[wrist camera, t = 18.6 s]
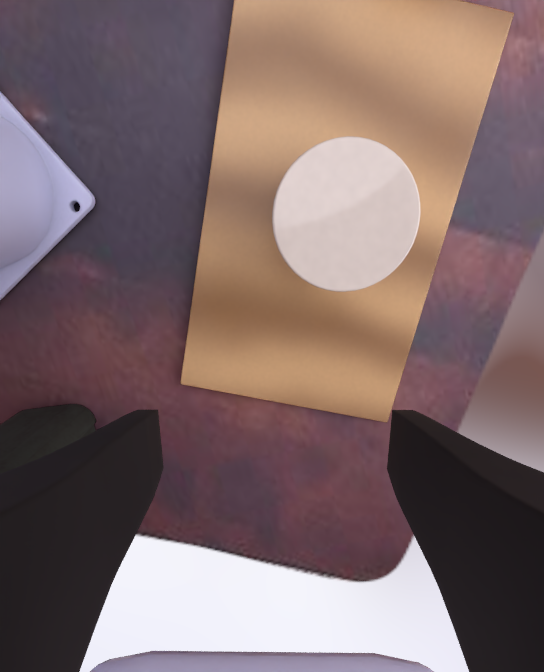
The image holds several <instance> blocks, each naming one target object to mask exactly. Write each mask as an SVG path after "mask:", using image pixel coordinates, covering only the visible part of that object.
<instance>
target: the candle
mask: <svg viewBox="0 0 544 672" xmlns="http://www.w3.org/2000/svg"><path fill="white" fill-rule="evenodd" d="M95 422H96V419H95V417H94V415H93V414H92V412H91V411H90V410H88V409H87V408H86V407H84V406H82V405H78V404H68V405H60V406H52V407H44V408H36V409H28V410H23V411H21V412H19V413H17V414H16V415H14V416H13V417H11V418H10V419H8V420H7V421H5V422H4V423H2V424H1V425H0V474H1V473H3V472H6V471H9V470H11V469H14V468H16V467H19V466H22V465H24V464H27V463H29V462H32V461H34V460H36V459H39V458H41V457H43V456H46V455H48V454H50V453H52V452H54V451H56V450H58V449H60V448H62V447H64V446H67V445H69V444H71V443H73V442H75V441H77V440H79V439H81V438H83V437H85V436H87V435H89V434H91V433H92V432H94V431H96V430H95V426H94V423H95Z"/></svg>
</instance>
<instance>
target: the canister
mask: <svg viewBox="0 0 544 672" xmlns="http://www.w3.org/2000/svg"><path fill="white" fill-rule="evenodd" d="M419 222H420V198H419V192H418V188H417V185H416V182H415V180H414V177H413V175H412V173H411V172H410V170H409V168H408V167H407V165H406V164H405V163H404V161H403V160H402V159H401V158H400V157H399V156H398V155H397V154H396V153H395V152H394V151H392V150H391V149H389V148H388V147H387V146H385V145H383V144H381V143H379V142H377V141H374V140H371V139H368V138H363V137H357V136H345V137H337V138H333V139H329V140H326V141H323V142H321V143H319V144H317V145H315V146H313V147H312V148H310V149H308V150H307V151H306V152H304V153H303V154H302V155H300V156H299V157H298V158H297V159H296V160H295V161H294V162H293V163H292V165H291V166H290V167H289V169H288V170H287V171H286V173H285V175H284V176H283V178H282V180H281V182H280V184H279V187H278V189H277V191H276V195H275V199H274V203H273V210H272V225H273V233H274V237H275V241H276V244H277V247H278V250H279V252H280V253H281V255H282V257H283V259H284V260H285V262H286V263H287V265H288V266H289V267H290V268H291V269H292V270H293V272H294V273H295V274H297V275H298V276H299V277H300V278H302V279H303V280H305V281H306V282H308V283H309V284H311V285H314V286H316V287H318V288H321V289H325V290H329V291H335V292H348V291H356V290H360V289H364V288H367V287H369V286H372V285H374V284H376V283H378V282H380V281H381V280H383V279H384V278H386V277H387V276H389V275H390V274H391V273H392V272H393V271H394V270H395V269H396V268H397V267H398V266H399V265H400V264H401V263H402V262H403V260H404V259H405V257H406V256H407V255H408V253H409V251H410V249H411V247H412V245H413V243H414V241H415V238H416V235H417V232H418V228H419Z"/></svg>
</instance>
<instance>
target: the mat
mask: <svg viewBox="0 0 544 672" xmlns="http://www.w3.org/2000/svg"><path fill="white" fill-rule="evenodd" d="M513 16H514V13H512V12H508V11H503V10H499V9H495V8H491V7H486V6H482V5H478V4H474V3H469V2H465V1H461V0H234V5H233V12H232V19H231V26H230V33H229V40H228V47H227V55H226V62H225V69H224V76H223V83H222V90H221V97H220V104H219V112H218V119H217V126H216V133H215V140H214V147H213V154H212V161H211V169H210V176H209V183H208V190H207V197H206V204H205V211H204V218H203V225H202V233H201V240H200V247H199V254H198V261H197V268H196V275H195V282H194V290H193V297H192V304H191V311H190V318H189V325H188V332H187V339H186V347H185V354H184V361H183V368H182V375H181V382H180V383H181V384H183V385H188V386H194V387H199V388H204V389H210V390H215V391H220V392H226V393H231V394H236V395H242V396H247V397H253V398H258V399H263V400H269V401H274V402H279V403H285V404H290V405H295V406H301V407H306V408H312V409H317V410H322V411H328V412H333V413H338V414H344V415H349V416H355V417H360V418H365V419H371V420H376V421H381V422H387V421H388V418H389V415H390V412H391V409H392V405H393V402H394V399H395V396H396V392H397V389H398V386H399V383H400V380H401V376H402V373H403V370H404V367H405V363H406V360H407V357H408V354H409V351H410V347H411V344H412V341H413V338H414V335H415V331H416V328H417V325H418V322H419V318H420V315H421V312H422V309H423V306H424V302H425V299H426V296H427V293H428V289H429V286H430V283H431V280H432V277H433V273H434V270H435V267H436V264H437V260H438V257H439V254H440V251H441V248H442V244H443V241H444V238H445V235H446V231H447V228H448V225H449V222H450V219H451V215H452V212H453V209H454V206H455V202H456V199H457V196H458V193H459V190H460V186H461V183H462V180H463V177H464V173H465V170H466V167H467V164H468V161H469V157H470V154H471V151H472V148H473V144H474V141H475V138H476V135H477V132H478V128H479V125H480V122H481V119H482V116H483V112H484V109H485V106H486V103H487V99H488V96H489V93H490V90H491V87H492V83H493V80H494V77H495V74H496V70H497V67H498V64H499V61H500V58H501V54H502V51H503V48H504V45H505V41H506V38H507V35H508V32H509V29H510V25H511V22H512V19H513ZM345 136H357V137H363V138H368V139H371V140H374V141H377V142H379V143H381V144H383V145H385V146H387V147H388V148H389V149H391V150H392V151H394V152H395V153H396V154H397V155H398V156H399V157H400V158H401V159H402V160H403V161H404V163H405V164H406V165H407V167H408V168H409V170H410V172H411V173H412V175H413V177H414V180H415V182H416V185H417V188H418V192H419V198H420V222H419V228H418V232H417V235H416V238H415V241H414V243H413V245H412V247H411V249H410V251H409V253H408V255H407V256H406V257H405V259H404V260H403V262H402V263H401V264H400V265H399V266H398V267H397V268H396V269H395V270H394V271H393V272H392V273H391V274H390V275H389V276H387V277H386V278H384V279H383V280H381V281H380V282H378V283H376V284H374V285H372V286H369V287H367V288H364V289H360V290H356V291H348V292H335V291H329V290H325V289H321V288H318V287H316V286H314V285H311V284H309V283H308V282H306V281H305V280H303V279H302V278H300V277H299V276H298V275H297V274H295V273H294V272H293V270H292V269H291V268H290V267H289V266H288V265H287V263H286V262H285V260H284V259H283V257H282V255H281V253H280V252H279V250H278V247H277V244H276V241H275V237H274V233H273V225H272V210H273V203H274V199H275V195H276V191H277V189H278V187H279V184H280V182H281V180H282V178H283V176H284V175H285V173H286V171H287V170H288V169H289V167H290V166H291V165H292V163H293V162H294V161H295V160H296V159H297V158H298V157H299V156H300V155H302V154H303V153H304V152H306V151H307V150H308V149H310V148H312V147H313V146H315V145H317V144H319V143H321V142H323V141H326V140H329V139H333V138H337V137H345Z"/></svg>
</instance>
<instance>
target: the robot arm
mask: <svg viewBox="0 0 544 672" xmlns="http://www.w3.org/2000/svg"><path fill="white" fill-rule="evenodd" d="M76 202H78V203H79V205H80V210H79V211H78V212H76V211H75V209H74V204H75V203H76ZM94 206H95V197H94V196H93V194H92V193H91V192H90V190H89V189H88V188H87V187H86V186H85V185H84V184H83V183H82V182H81V180H80V179H79V178H78V177H77V176H76V175H75V174H74V173H73V172H72V170H71V169H70V168H69V167H68V166H67V165H66V164H65V163H64V162H63V160H62V159H61V158H60V157H59V156H58V155H57V154H56V153H55V152H54V150H53V149H52V148H51V147H50V146H49V145H48V144H47V143H46V142H45V140H44V139H43V138H42V137H41V136H40V135H39V134H38V133H37V131H36V130H35V129H34V128H33V127H32V126H31V125H30V124H29V123H28V121H27V120H26V119H25V118H24V117H23V116H22V115H21V114H20V113H19V111H18V110H17V109H16V108H15V107H14V106H13V105H12V104H11V103H10V101H9V100H8V99H7V98H6V97H5V96H4V95H3V94H2V93H1V91H0V300H1V299H2V298H3V297H4V296H5V295H6V294H7V293H8V292H9V291H10V290H11V289H12V288H13V287H14V286H15V285H16V284H17V283H18V282H19V281H20V280H21V279H22V278H23V277H24V276H25V275H26V274H27V273H28V272H29V271H30V270H31V269H32V268H33V267H34V266H35V265H36V264H37V263H38V262H39V261H40V260H41V259H42V258H43V257H44V256H45V255H46V254H47V253H48V252H49V251H50V250H51V249H52V248H53V247H55V246H56V245H57V244H58V243H59V242H60V241H61V240H62V239H63V238H64V237H65V236H66V235H67V234H68V233H69V232H70V231H71V230H72V229H73V228H74V227H75V226H76V225H77V224H78V223H79V222H80V221H81V220H82V219H83V218H84V217H85V216H86V215H87V214H88V213H89V212H90V211H91V210H92V209H93V207H94ZM387 470H388V473H389V476H390V480H391V483H392V486H393V489H394V492H395V495H396V498H397V500H398V502H399V504H400V507H401V509H402V511H403V513H404V515H405V517H406V519H407V521H408V523H409V525H410V527H411V530H412V532H413V534H414V536H415V538H416V540H417V542H418V544H419V546H420V548H421V550H422V552H423V554H424V556H425V558H426V560H427V562H428V564H429V566H430V568H431V571H432V573H433V575H434V577H435V580H436V582H437V584H438V586H439V589H440V592H441V594H442V597H443V600H444V602H445V605H446V608H447V610H448V613H449V616H450V619H451V621H452V624H453V626H454V629H455V632H456V635H457V638H458V640H459V644H460V646H461V649H462V652H463V655H464V658H465V661H466V664H467V666H468V669H469V672H544V473H543V472H541V471H538V470H536V469H533V468H531V467H528V466H526V465H523V464H521V463H518V462H516V461H514V460H512V459H509V458H507V457H505V456H503V455H501V454H498V453H496V452H494V451H492V450H490V449H488V448H486V447H484V446H482V445H479V444H478V443H476V442H474V441H472V440H470V439H468V438H466V437H464V436H462V435H460V434H459V433H457V432H455V431H453V430H451V429H449V428H448V427H446V426H444V425H442V424H440V423H438V422H436V421H435V420H433V419H431V418H429V417H427V416H425V415H423V414H421V413H419V412H416V411H413V410H392V420H391V431H390V442H389V453H388V465H387ZM162 471H163V458H162V448H161V437H160V426H159V416H158V410H136V411H134V412H131V413H129V414H127V415H125V416H123V417H121V418H119V419H117V420H115V421H113V422H111V423H109V424H108V425H106V426H104V427H102V428H100V429H98V430H96V431H94V432H92V433H91V434H89V435H87V436H85V437H83V438H81V439H79V440H77V441H75V442H73V443H71V444H69V445H67V446H64V447H62V448H60V449H58V450H56V451H54V452H52V453H50V454H48V455H46V456H43V457H41V458H39V459H36V460H34V461H32V462H29V463H27V464H24V465H22V466H19V467H16V468H14V469H11V470H9V471H6V472H3V473H1V474H0V672H79V671H80V668H81V665H82V662H83V659H84V657H85V654H86V651H87V648H88V645H89V643H90V640H91V637H92V634H93V632H94V629H95V626H96V623H97V621H98V618H99V616H100V613H101V610H102V607H103V605H104V603H105V600H106V597H107V595H108V592H109V589H110V587H111V584H112V582H113V580H114V578H115V575H116V573H117V571H118V569H119V567H120V565H121V562H122V560H123V558H124V557H125V555H126V553H127V551H128V549H129V547H130V545H131V543H132V541H133V539H134V537H135V535H136V533H137V531H138V529H139V527H140V525H141V523H142V520H143V518H144V516H145V514H146V512H147V510H148V508H149V506H150V504H151V502H152V500H153V498H154V495H155V492H156V489H157V486H158V483H159V480H160V477H161V474H162ZM90 672H433V671H432V670H431V669H430V668H428V667H426V666H424V665H422V664H420V663H417V662H412V661H407V660H403V659H398V658H394V657H389V656H384V655H380V654H375V653H295V652H287V653H286V652H201V651H199V652H198V651H197V652H196V651H195V652H194V651H150V652H145V653H140V654H135V655H130V656H125V657H119V658H114V659H109V660H107V661H105V662H103V663H101V664H98V665H97V666H96V667H95V668H94V669H92V670H91V671H90Z"/></svg>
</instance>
